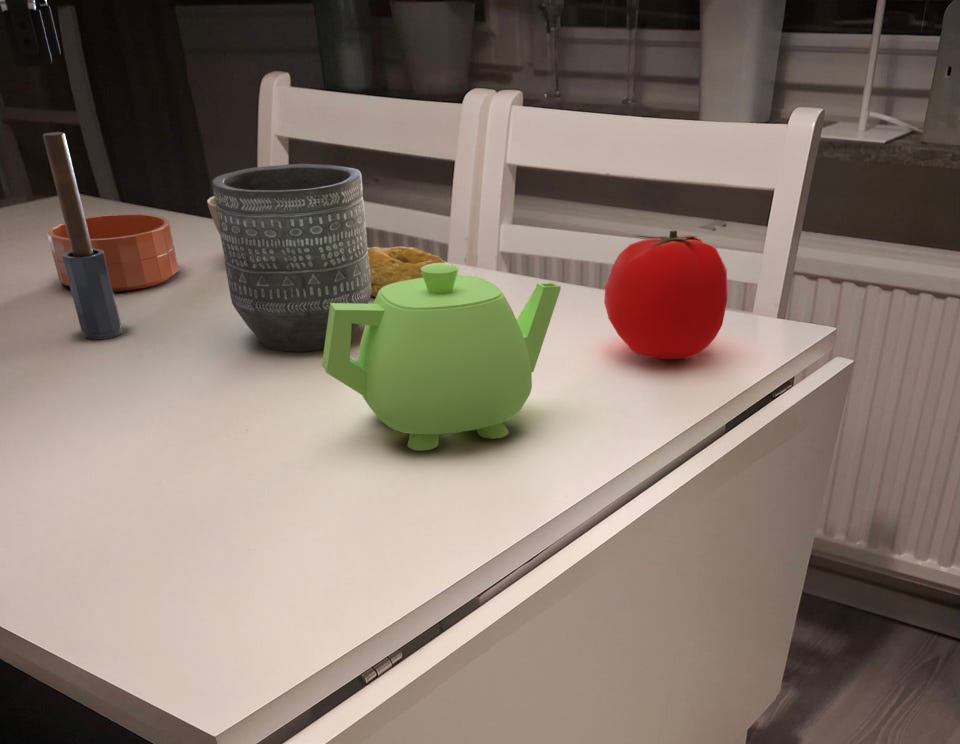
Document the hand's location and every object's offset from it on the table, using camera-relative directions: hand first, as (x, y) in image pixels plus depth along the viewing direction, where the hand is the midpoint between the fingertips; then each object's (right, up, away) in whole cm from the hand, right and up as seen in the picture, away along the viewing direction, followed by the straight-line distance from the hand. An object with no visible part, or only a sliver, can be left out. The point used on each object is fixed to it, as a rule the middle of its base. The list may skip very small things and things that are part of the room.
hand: (39, 61), depth 94 cm
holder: (+1, -20, +14) cm, 24 cm away
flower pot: (+12, -1, +38) cm, 40 cm away
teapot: (+38, -37, -9) cm, 54 cm away
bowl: (-4, -6, +31) cm, 32 cm away
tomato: (+59, -26, +5) cm, 64 cm away
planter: (+23, -22, +11) cm, 34 cm away
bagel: (+32, -11, +24) cm, 42 cm away
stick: (+1, -20, +13) cm, 24 cm away
